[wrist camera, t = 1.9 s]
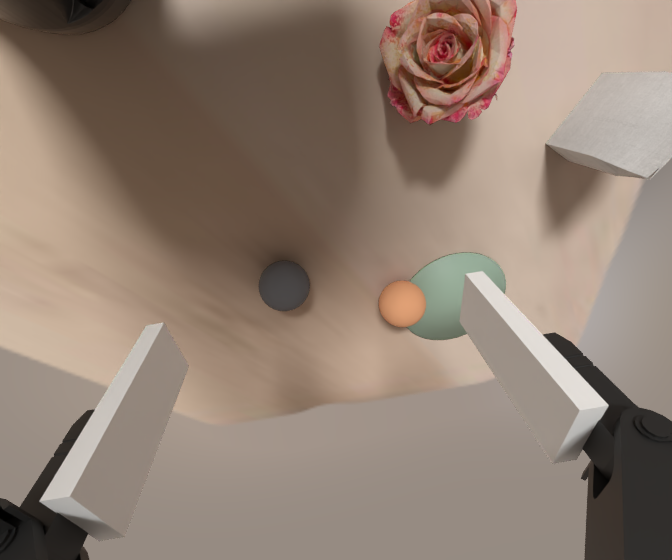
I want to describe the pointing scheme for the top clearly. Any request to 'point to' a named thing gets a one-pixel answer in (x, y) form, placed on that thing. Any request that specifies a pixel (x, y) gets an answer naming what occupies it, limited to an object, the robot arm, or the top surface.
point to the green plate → (449, 292)
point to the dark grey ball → (284, 285)
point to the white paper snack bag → (620, 125)
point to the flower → (447, 56)
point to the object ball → (402, 303)
